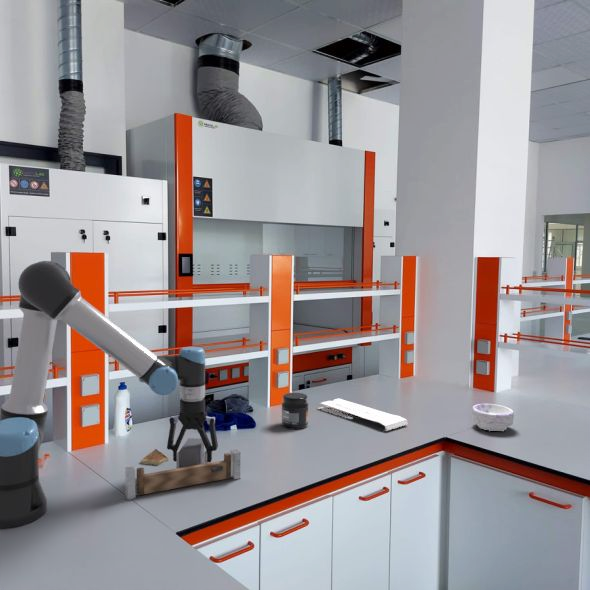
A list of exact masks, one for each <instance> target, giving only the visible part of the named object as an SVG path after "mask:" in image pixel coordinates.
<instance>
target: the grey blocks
mask: <svg viewBox="0 0 590 590" xmlns="http://www.w3.org/2000/svg"><path fill="white" fill-rule="evenodd" d="M229 453H230V454H231V478H232V479H233V480H235V481H236V480H239V478H240V479H241V451H239V450H238V449H237V448H234V449H230V452H229ZM124 469H125V471H124V473H125V475H124V479H125V482H124V484H125V486H124V487H125V493H124V494H125V498H126V500H127V501H130V500H136V470H135V467H134V466H133V465H132V466H126V467H124Z"/></svg>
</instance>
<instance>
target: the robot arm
mask: <svg viewBox="0 0 590 590" xmlns="http://www.w3.org/2000/svg"><path fill="white" fill-rule="evenodd" d="M18 289H19V294H20V296H19V303H18V308H19V310H20V311H21V312H22V314H23V316H22V317H23V318H22V322H21V323H22V324H21V329H20V334H19V340H18V341H19V342H18V347H17V351H16V357H15V363H14V370H13V375H12V381H11V388H10V393H9V399H8V400H7V401H6V402H4V403H2V405H1V407H0V408H1V409H0V529H8V528H15V527H20V526H23V525H26V524H29V523H31V522H34V521H36V520H38V519H39V518H41V517H42V516H44V515H45V513H46V512H47V510H48V499H47V497H46V495H45V492H44V489H43V487H42V484H41V483H40V477H39V476H40V473H39V471H40V470H39V469H40V468H39V467H40V466H39V451H40V447H41V445H42V442H43V440H44V438H45V435H46V430H47V425H46V422H47V417H48V411H49V410H48V409H49V408H48V406H47V405H46V404H45V402H44V399H45V396H46V395H45V393H46V388H47V383H48V382H47V381H48V376H49V371H50V364H51V360H52V352H53V348H54V347H53V346H54V342H55V336H56V330H57V326H58V325H57V324H58V321H62V322H63V323H65V324H66V325H67V326H68V327H70V328H72V329H73V330H74V331H75V332H77V333H78V334H80V335H81V336H82V337H83V338H85V339H86V340H87V341H89V342H90V343H92V344H93V345H94V346H96V347H97V348H98V349H99V350H101V351H102V352H103V353H105V355H107V356H109V357H110V358H111V359H113V360H114V361H116V363H118V364H119V365H121V366H122V367H123V368H125V369H126V370H128V371H129V372H130V373H132V374H133V375H134V376H136V377H137V378H138V381H139V382H140V383H145V384H146V385H147V386H149V388H150V390H151V391H152V392H154V393H155V394H156V395H158V396H168V395H170V394H171V393H173V392H174V391H175V390H176V389H177V387H178V384H179V398H180V399H179V415H176V416H175V415H171V416H170V418H169V424H170V427H169V432H168V440H167V445H166V449H167V450H171V451H172V452H173V453H172V456H173V457H172V459H173V462H176V469H177V468H180V450H181V448H180V446H181V443H182V441H183V439H184V437H185V434H186V432H187V430H194V431H197V433H198V434H199V436H200V439H202V441H203V443H204V449H205V450H204V464H206V463H212V460H213V451H214V452H215V451H217V449H218V448H219V444H218V442H219V441H218V438H217V437H218V436H217V431H216V426H215V424H216V416H212V417H211V416H208V415H207V414H206V399H205V397H206V355H205V354H206V353H205V350H204V349H203V347H199V346H187V347H181V348H180V349H179V352H178V354H175V355H156V354H155V353H154V352H153V351H151V350H150V349H148V347H146V346H144V345H143V344H142V343H141V342H139V341H138V339H135V338H134V337H133V336H132V335H131V334H130V333H128V332H127V331H125V330H124V329H123V328H121V327H120V326H119V325H117V324H116V323H115V322H114V321H113V320H111V319H110V318H109V317H108V316H106V315H105V314H104V313H102V312H101V311H100V310H99V309H97V308H96V307H95V306H93V305H92V304H91V303H90V302H88V301H87V300H86V299H84V298H83V297H82V294H81V290H80V289H78V288H77V287H76V286H75V285H74V284H73V283H72V281H71V277H70V274H69V272H68V270H67V269H66V268H65V267H64V266H63V265H61V264H60V263H58V262H54V261H52V260H42V261H38V262H35V263H32V264H30V265H28V266H27V267H25V269H23V271H22V272H21V273H20V275H19V279H18ZM205 421H206V422H207V423H206V424H207V425H208V429H209V434H210V438H209V437H208V435H207V433H206V430H205V426H204V423H205ZM178 422H180V423H181V425H182V427H181V428H180V432H179V434H178V437H177V439H176V441H175V444H174V440H175V434H176V428H177V424H178ZM210 441H211V442H210Z"/></svg>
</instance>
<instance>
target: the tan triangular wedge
mask: <svg viewBox="0 0 590 590" xmlns="http://www.w3.org/2000/svg"><path fill="white" fill-rule="evenodd" d="M140 461H141V464H142V465H143V464H144V465H152V464H153V465H152V466H159V465H161V464H163V463H166V462H168V461H169V458H168V457H167V456H166V455H165V454H163V452H161V451H159V450H158V449H157V448H155V449H153V450H152V452H149V453H148V454H147V455H146V456H145V457H143V459H141V460H140Z"/></svg>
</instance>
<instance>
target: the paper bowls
mask: <svg viewBox="0 0 590 590" xmlns="http://www.w3.org/2000/svg"><path fill="white" fill-rule="evenodd" d="M471 408H472V409H471V420H472V421H473V422H474V423H476V425H477V427H478V428H479V429H481V430H482V429H484V430H483V431H485V430H489V431H488V432H490V431H502V432H504V431H503V430H505V431H506V430H507V429H508V427H511V426H512V425H513V424H514V416H515V415H514V411H513V409H511V408H510V407H507V406H505V405H500V404H494V403H478V404H477V403H476V404H475V405H473V406H472V407H471Z"/></svg>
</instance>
